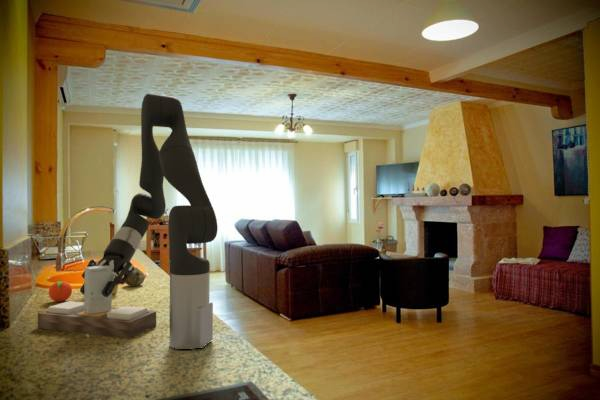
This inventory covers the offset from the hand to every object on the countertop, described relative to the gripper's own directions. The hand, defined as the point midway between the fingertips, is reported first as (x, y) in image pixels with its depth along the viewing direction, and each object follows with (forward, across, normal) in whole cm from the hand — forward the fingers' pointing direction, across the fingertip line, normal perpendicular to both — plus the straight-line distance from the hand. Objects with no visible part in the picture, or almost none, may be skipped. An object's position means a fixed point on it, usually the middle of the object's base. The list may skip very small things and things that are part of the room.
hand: (93, 294), depth 113 cm
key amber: (+4, 0, +6) cm, 7 cm away
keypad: (+5, 0, +8) cm, 9 cm away
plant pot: (-19, -27, +33) cm, 46 cm away
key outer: (+3, -9, +5) cm, 11 cm away
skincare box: (+2, 0, +5) cm, 5 cm away
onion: (-30, -27, +44) cm, 60 cm away
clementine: (-8, -33, +22) cm, 40 cm away
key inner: (+3, +10, +5) cm, 11 cm away
